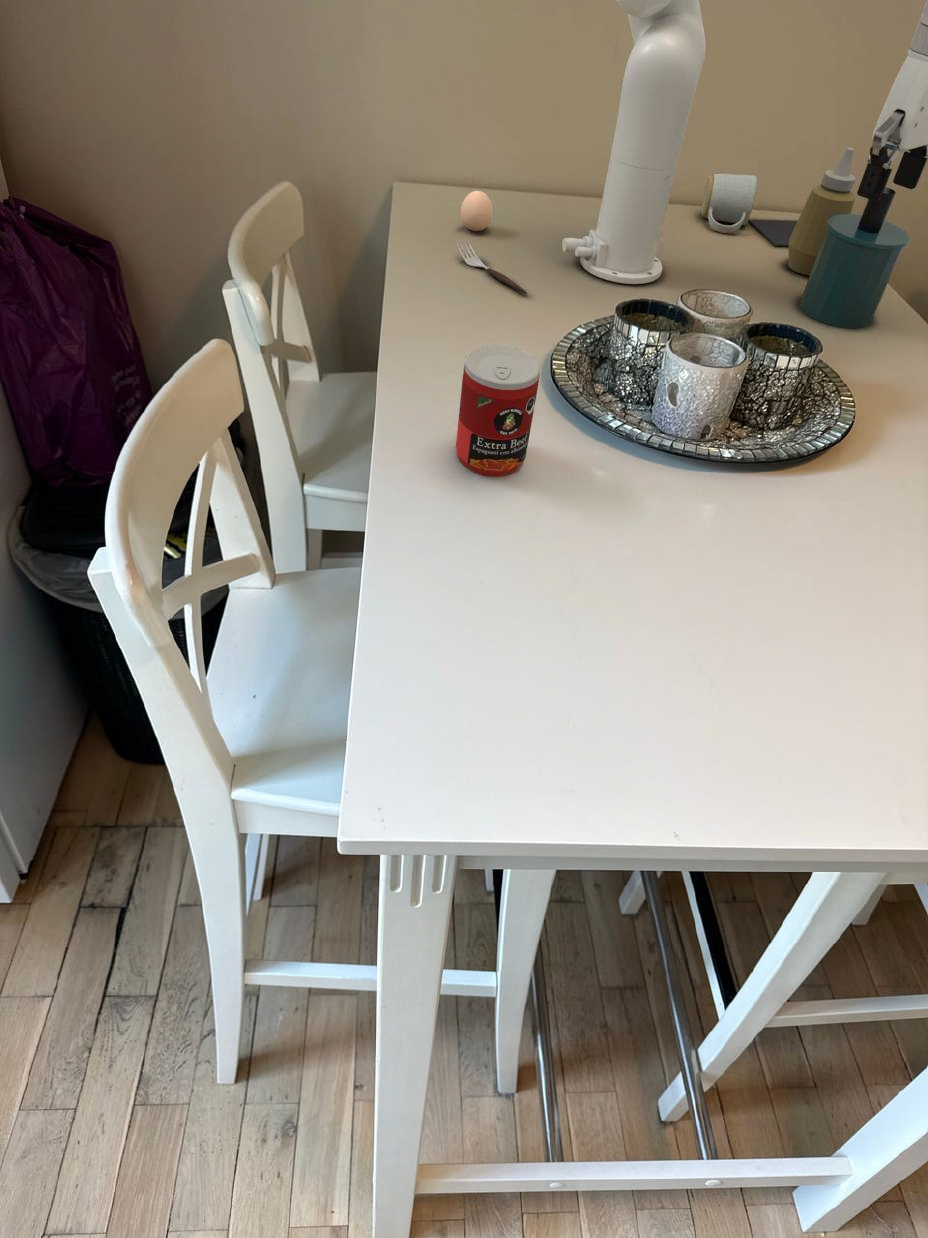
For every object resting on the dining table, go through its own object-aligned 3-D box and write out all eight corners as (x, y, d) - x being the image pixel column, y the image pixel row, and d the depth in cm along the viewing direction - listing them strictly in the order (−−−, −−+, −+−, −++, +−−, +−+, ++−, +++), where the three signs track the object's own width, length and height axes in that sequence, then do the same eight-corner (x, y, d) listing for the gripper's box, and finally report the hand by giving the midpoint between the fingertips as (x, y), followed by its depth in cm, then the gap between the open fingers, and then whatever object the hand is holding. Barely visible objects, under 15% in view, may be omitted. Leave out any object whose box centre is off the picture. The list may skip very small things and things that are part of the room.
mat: (775, 246, 148) (776, 244, 148) (747, 221, 156) (748, 219, 156) (833, 247, 151) (834, 245, 150) (803, 222, 158) (803, 220, 158)
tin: (820, 328, 127) (852, 247, 119) (787, 296, 134) (816, 218, 126) (884, 327, 129) (919, 248, 121) (848, 296, 136) (879, 219, 128)
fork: (519, 298, 124) (521, 285, 123) (453, 255, 133) (455, 242, 131) (533, 295, 125) (535, 281, 124) (467, 253, 134) (469, 239, 133)
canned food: (465, 480, 91) (477, 385, 84) (446, 438, 97) (455, 345, 89) (535, 475, 93) (552, 381, 86) (512, 433, 99) (526, 342, 91)
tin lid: (850, 253, 119) (869, 204, 114) (810, 221, 126) (827, 174, 122) (921, 254, 121) (943, 206, 117) (878, 223, 129) (897, 176, 124)
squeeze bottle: (825, 262, 145) (870, 143, 133) (835, 282, 139) (884, 160, 127) (776, 256, 145) (817, 136, 133) (785, 276, 139) (828, 153, 127)
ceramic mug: (697, 208, 158) (710, 163, 152) (743, 215, 158) (757, 170, 152) (700, 231, 150) (713, 184, 145) (748, 238, 150) (762, 191, 145)
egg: (492, 226, 143) (496, 188, 139) (488, 238, 139) (492, 199, 135) (461, 221, 143) (465, 183, 139) (456, 233, 139) (460, 194, 135)
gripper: (947, 32, 114) (892, 173, 126) (881, 42, 105) (828, 193, 117) (1003, 45, 110) (941, 190, 122) (940, 57, 101) (879, 212, 113)
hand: (886, 191), depth 119 cm, fingers open, 9 cm apart
